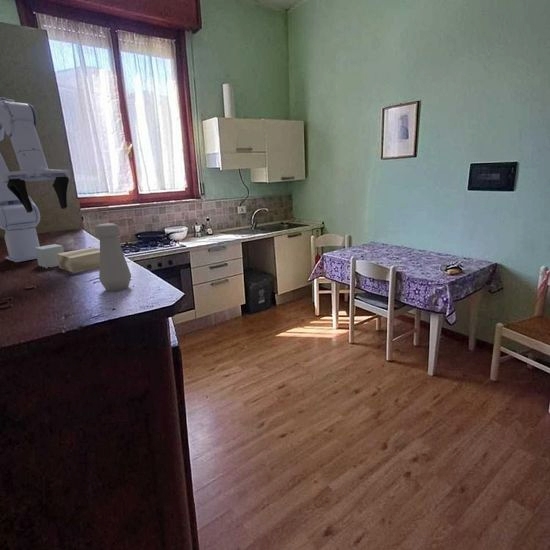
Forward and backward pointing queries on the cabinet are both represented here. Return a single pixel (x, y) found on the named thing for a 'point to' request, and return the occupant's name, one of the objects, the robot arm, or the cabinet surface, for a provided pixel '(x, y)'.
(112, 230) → the salt shaker
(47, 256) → the blue-grey cube
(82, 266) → the birch block
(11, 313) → the cabinet surface
